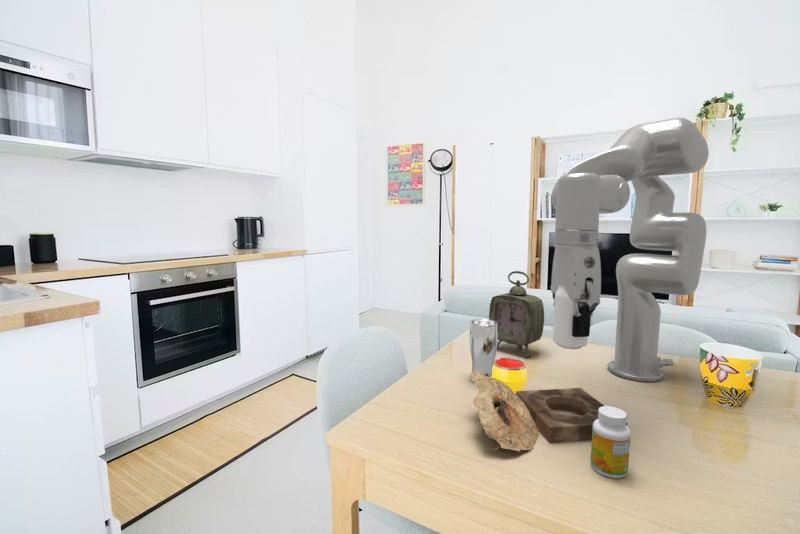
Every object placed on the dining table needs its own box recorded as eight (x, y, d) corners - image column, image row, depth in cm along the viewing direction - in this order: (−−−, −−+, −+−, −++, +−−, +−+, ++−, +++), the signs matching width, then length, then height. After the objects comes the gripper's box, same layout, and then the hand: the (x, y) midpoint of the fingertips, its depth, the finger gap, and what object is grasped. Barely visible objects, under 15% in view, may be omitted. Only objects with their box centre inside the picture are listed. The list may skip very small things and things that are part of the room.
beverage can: (570, 339, 80) (573, 282, 78) (594, 349, 74) (598, 287, 73) (545, 342, 78) (548, 284, 77) (567, 352, 72) (571, 289, 71)
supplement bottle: (583, 459, 65) (586, 404, 64) (613, 457, 65) (617, 403, 64) (602, 480, 59) (606, 421, 58) (635, 478, 60) (640, 419, 59)
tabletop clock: (488, 348, 121) (490, 270, 118) (503, 342, 127) (506, 267, 124) (530, 360, 111) (534, 274, 108) (545, 353, 117) (549, 272, 114)
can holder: (579, 400, 86) (580, 387, 86) (626, 437, 71) (627, 422, 71) (515, 404, 84) (516, 391, 84) (549, 443, 69) (550, 427, 69)
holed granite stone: (542, 479, 69) (562, 452, 66) (469, 469, 67) (486, 440, 63) (511, 402, 85) (525, 377, 82) (450, 391, 83) (463, 364, 79)
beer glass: (494, 375, 100) (496, 319, 99) (498, 386, 93) (500, 326, 92) (467, 374, 101) (468, 318, 99) (469, 385, 94) (471, 325, 92)
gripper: (625, 241, 65) (617, 344, 67) (569, 237, 82) (565, 320, 84) (583, 241, 64) (577, 346, 67) (536, 238, 81) (532, 321, 84)
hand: (570, 330), depth 75 cm, fingers closed on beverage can, 5 cm apart
